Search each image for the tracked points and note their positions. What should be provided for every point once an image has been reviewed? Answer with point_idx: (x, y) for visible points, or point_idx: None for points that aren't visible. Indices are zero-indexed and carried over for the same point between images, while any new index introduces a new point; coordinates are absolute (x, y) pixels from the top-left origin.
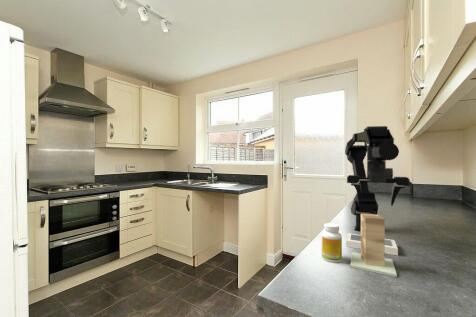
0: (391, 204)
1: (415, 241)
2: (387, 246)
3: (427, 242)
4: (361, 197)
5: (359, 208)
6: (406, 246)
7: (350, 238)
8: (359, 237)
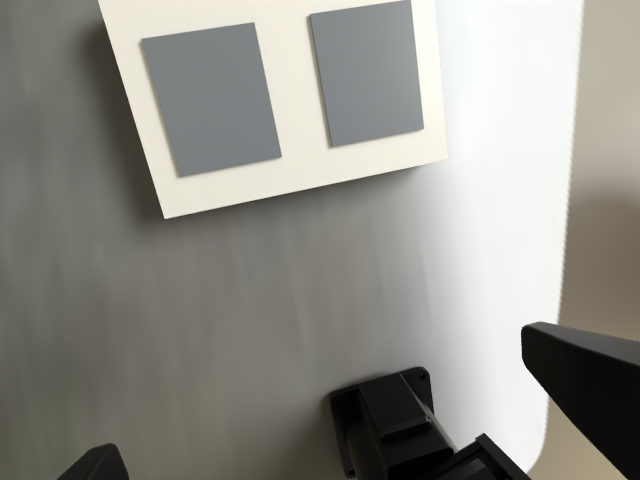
0: (101, 454)
1: (90, 408)
2: (168, 7)
3: (29, 441)
4: (618, 355)
5: (488, 470)
6: (112, 261)
7: (413, 29)
8: (366, 89)
